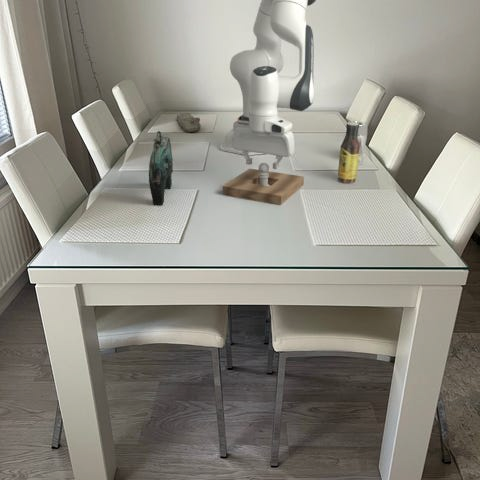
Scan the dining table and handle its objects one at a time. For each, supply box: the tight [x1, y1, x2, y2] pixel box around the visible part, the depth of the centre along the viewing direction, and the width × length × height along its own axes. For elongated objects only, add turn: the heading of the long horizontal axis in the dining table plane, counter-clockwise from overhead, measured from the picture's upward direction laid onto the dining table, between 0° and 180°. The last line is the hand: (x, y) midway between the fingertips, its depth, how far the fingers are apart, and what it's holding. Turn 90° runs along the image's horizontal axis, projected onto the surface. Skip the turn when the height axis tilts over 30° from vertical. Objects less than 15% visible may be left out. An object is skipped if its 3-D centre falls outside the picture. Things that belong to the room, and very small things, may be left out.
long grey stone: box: [176, 112, 202, 133], centre depth 245 cm, size 35×5×10 cm
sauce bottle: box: [337, 121, 360, 184], centre depth 164 cm, size 6×6×20 cm
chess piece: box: [258, 162, 270, 186], centre depth 160 cm, size 5×5×9 cm
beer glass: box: [353, 120, 369, 166], centre depth 184 cm, size 7×7×15 cm
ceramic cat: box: [148, 130, 174, 206], centre depth 153 cm, size 20×6×20 cm, turn 178°
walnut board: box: [221, 168, 305, 206], centre depth 161 cm, size 20×20×3 cm
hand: (262, 166), depth 158 cm, fingers open, 8 cm apart
